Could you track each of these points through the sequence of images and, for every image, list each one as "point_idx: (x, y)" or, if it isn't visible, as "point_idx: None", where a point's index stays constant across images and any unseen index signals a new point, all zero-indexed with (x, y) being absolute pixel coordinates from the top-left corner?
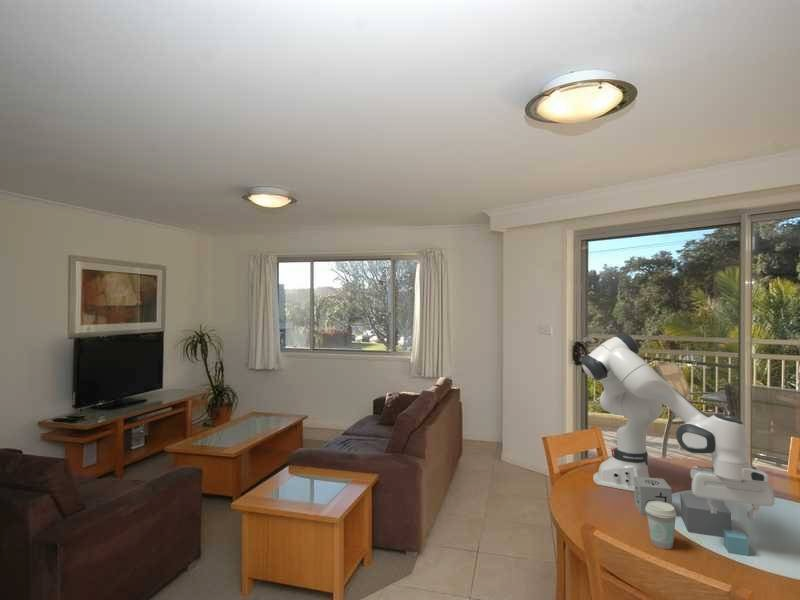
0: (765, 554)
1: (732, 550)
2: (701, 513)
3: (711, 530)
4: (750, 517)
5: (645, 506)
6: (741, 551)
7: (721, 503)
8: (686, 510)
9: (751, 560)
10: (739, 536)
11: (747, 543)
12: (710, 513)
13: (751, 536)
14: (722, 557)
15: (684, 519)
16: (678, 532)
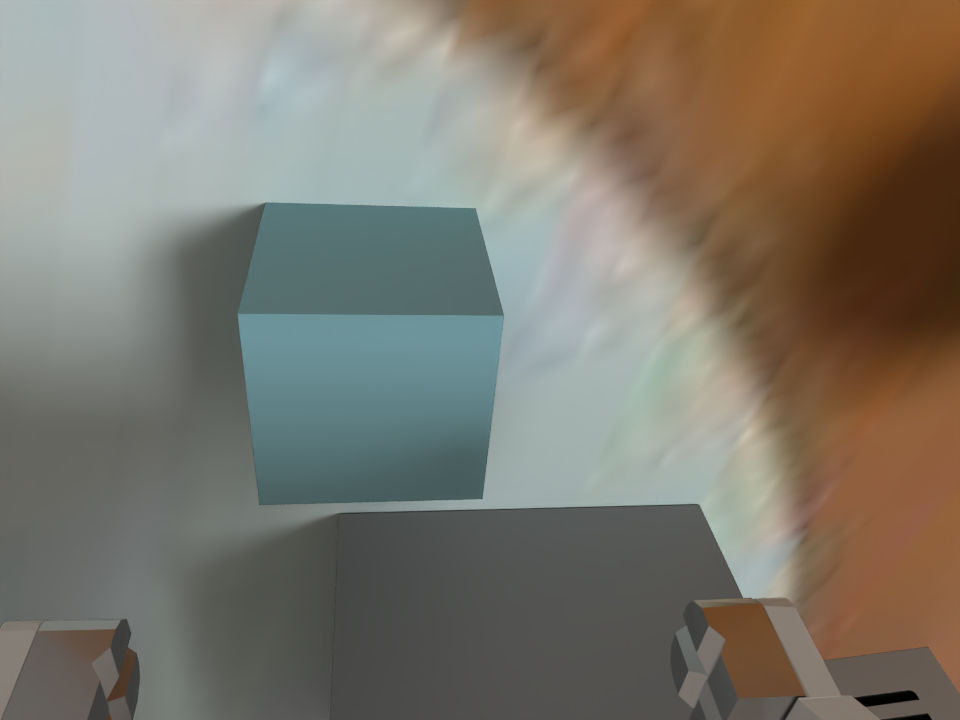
0: (75, 302)
1: (436, 222)
2: (641, 693)
3: (516, 547)
4: (88, 637)
5: (936, 717)
6: (339, 224)
7: None
8: None
9: (259, 97)
10: (336, 363)
11: (255, 280)
12: (552, 712)
13: (157, 596)
14: (589, 66)
15: None
16: (791, 473)
